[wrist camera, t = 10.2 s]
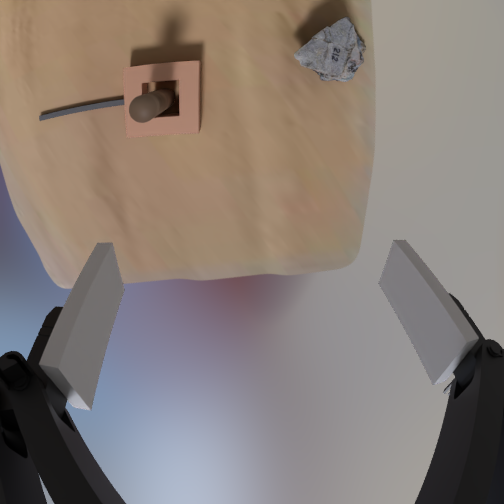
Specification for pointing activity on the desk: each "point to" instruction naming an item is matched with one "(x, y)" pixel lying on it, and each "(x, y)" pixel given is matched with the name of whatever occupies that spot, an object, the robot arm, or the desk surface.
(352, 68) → the mineral specimen
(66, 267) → the desk surface
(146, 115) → the dowel
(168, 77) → the pink square frame
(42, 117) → the strip
